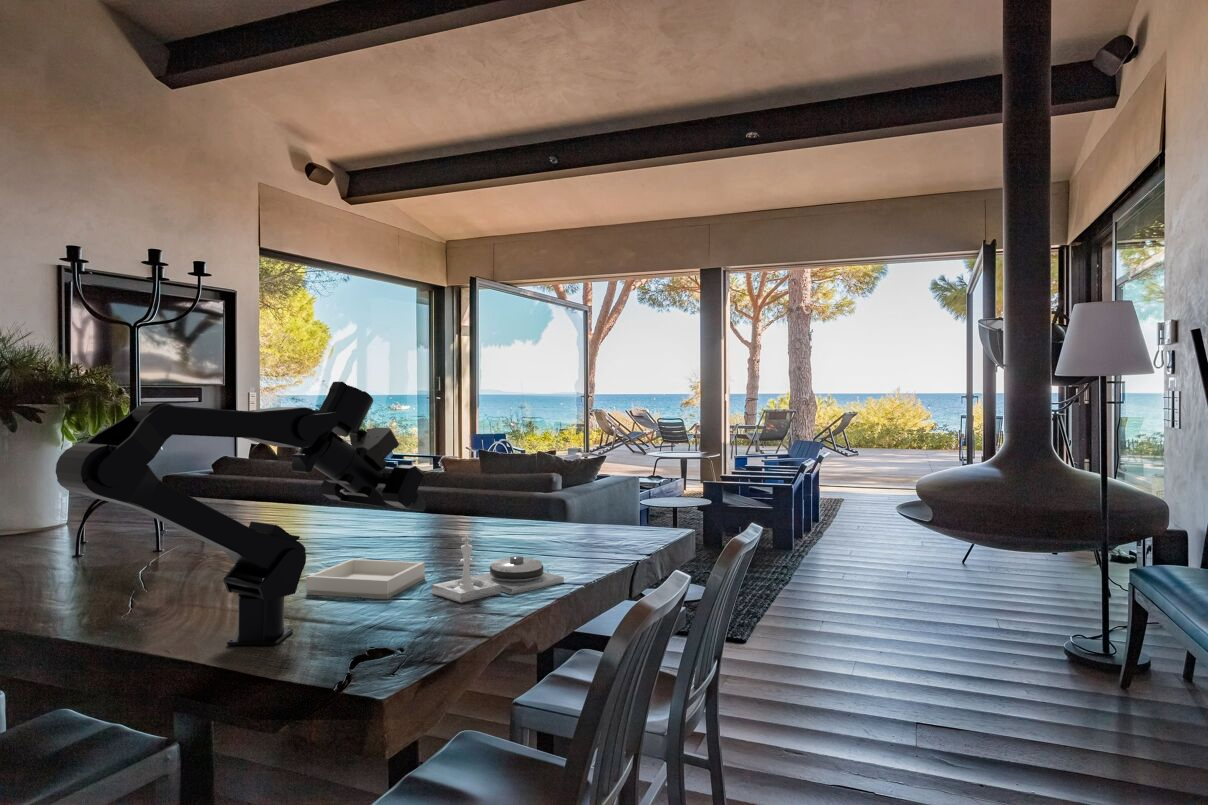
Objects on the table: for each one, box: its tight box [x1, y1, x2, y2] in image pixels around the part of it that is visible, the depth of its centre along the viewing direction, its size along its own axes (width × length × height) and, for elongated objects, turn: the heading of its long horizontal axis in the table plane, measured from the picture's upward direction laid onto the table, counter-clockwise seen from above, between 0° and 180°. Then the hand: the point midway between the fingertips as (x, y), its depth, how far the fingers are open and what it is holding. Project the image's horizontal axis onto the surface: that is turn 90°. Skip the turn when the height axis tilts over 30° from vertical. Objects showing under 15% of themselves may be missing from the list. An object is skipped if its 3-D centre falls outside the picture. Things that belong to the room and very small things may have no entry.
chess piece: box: [454, 534, 479, 592], centre depth 125 cm, size 5×5×10 cm
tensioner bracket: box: [431, 555, 565, 604], centre depth 130 cm, size 21×12×4 cm, turn 136°
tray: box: [305, 558, 426, 600], centre depth 130 cm, size 15×15×3 cm
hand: (404, 506), depth 123 cm, fingers open, 9 cm apart
